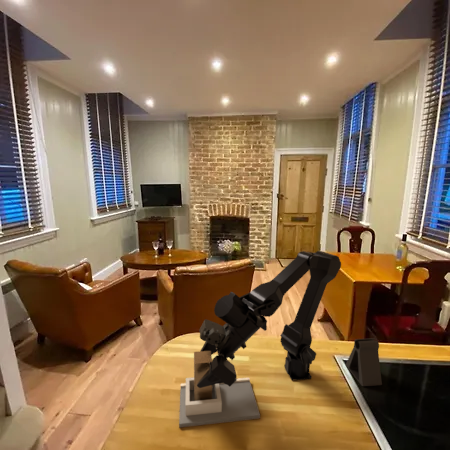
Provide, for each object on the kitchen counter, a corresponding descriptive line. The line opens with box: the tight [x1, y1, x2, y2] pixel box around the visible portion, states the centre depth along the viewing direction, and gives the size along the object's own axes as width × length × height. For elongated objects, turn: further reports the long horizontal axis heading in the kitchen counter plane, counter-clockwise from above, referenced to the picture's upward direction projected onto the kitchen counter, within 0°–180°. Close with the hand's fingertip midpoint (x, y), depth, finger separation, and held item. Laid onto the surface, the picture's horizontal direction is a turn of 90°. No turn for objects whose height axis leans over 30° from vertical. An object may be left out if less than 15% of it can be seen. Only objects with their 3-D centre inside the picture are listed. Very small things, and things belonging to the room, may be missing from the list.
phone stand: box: [345, 338, 383, 387], centre depth 79 cm, size 9×6×12 cm, turn 5°
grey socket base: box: [178, 376, 261, 428], centre depth 69 cm, size 20×12×4 cm, turn 98°
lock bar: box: [193, 350, 213, 401], centre depth 68 cm, size 4×4×12 cm
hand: (197, 372), depth 68 cm, fingers open, 9 cm apart
